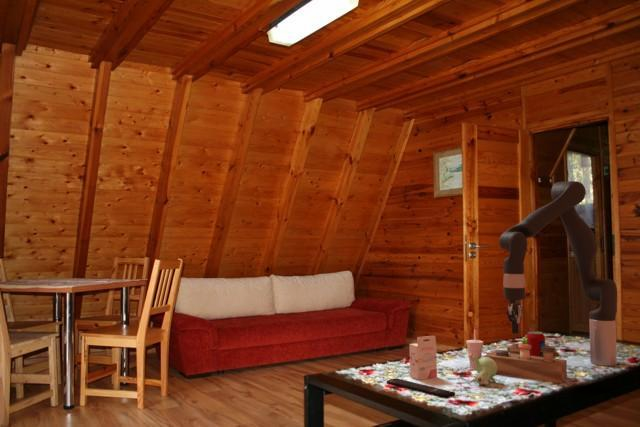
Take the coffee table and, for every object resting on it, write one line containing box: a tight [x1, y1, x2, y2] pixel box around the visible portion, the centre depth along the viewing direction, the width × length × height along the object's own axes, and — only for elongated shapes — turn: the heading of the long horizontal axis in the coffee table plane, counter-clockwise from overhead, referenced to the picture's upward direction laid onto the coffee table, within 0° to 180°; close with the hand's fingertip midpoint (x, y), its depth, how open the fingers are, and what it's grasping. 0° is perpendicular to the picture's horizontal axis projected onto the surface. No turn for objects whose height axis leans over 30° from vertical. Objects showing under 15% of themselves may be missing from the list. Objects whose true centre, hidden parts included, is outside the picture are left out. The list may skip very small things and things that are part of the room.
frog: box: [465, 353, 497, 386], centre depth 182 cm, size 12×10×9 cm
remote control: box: [386, 378, 456, 399], centre depth 174 cm, size 5×24×1 cm, turn 42°
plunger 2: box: [541, 346, 556, 362], centre depth 189 cm, size 4×4×7 cm
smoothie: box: [465, 329, 484, 368], centre depth 206 cm, size 6×6×14 cm
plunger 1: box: [495, 349, 509, 357], centre depth 198 cm, size 4×4×7 cm
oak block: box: [484, 350, 568, 384], centre depth 193 cm, size 10×26×6 cm, turn 56°
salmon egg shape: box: [518, 343, 531, 359], centre depth 193 cm, size 4×4×7 cm
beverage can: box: [526, 330, 546, 357], centre depth 212 cm, size 7×7×12 cm
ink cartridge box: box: [409, 335, 438, 381], centre depth 190 cm, size 9×5×15 cm, turn 117°
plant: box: [506, 326, 558, 358], centre depth 232 cm, size 20×20×11 cm
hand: (515, 333), depth 196 cm, fingers closed
